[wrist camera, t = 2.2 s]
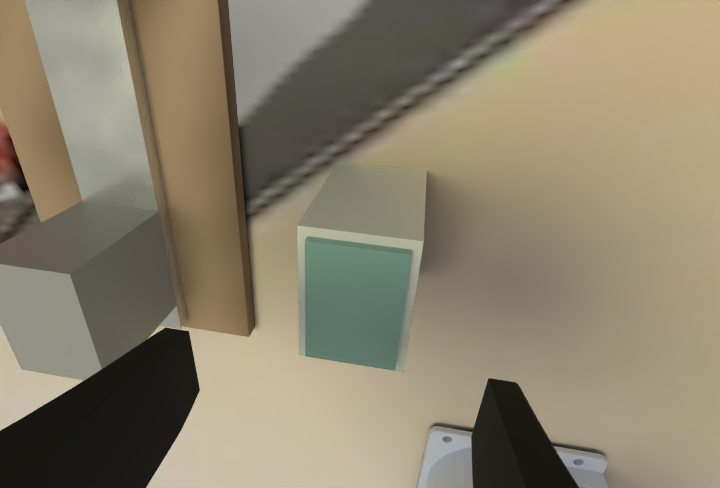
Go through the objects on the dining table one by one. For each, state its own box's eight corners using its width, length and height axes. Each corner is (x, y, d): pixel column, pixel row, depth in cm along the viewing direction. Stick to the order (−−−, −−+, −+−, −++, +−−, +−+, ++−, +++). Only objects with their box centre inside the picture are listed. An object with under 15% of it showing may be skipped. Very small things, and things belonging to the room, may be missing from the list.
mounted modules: (74, -223, 11) (-148, -371, 7) (177, 305, 20) (106, 384, 16) (-42, -223, 12) (-322, -365, 7) (108, 294, 20) (21, 369, 16)
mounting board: (203, -298, 11) (188, -319, 11) (254, 326, 22) (249, 336, 21) (-115, -295, 12) (-147, -313, 12) (82, 300, 23) (71, 309, 22)
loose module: (426, 171, 17) (423, 246, 11) (411, 275, 19) (402, 378, 14) (338, 161, 17) (293, 230, 12) (335, 264, 19) (296, 361, 14)
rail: (77, -289, 11) (57, -306, 11) (188, 320, 21) (180, 328, 21) (-38, -287, 12) (-64, -304, 11) (125, 310, 22) (116, 318, 21)
